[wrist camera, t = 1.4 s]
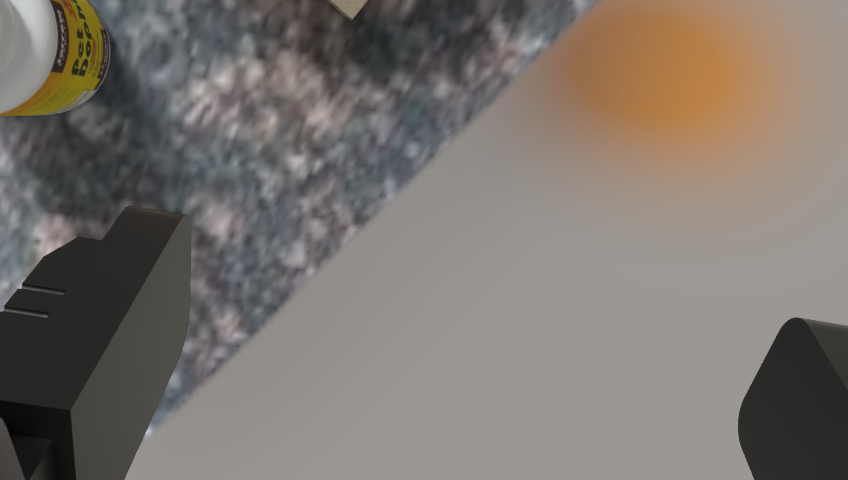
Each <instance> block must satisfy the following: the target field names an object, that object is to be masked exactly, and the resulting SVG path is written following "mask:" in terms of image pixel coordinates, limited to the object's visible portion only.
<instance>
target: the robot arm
mask: <svg viewBox="0 0 848 480" xmlns="http://www.w3.org/2000/svg"><path fill="white" fill-rule="evenodd" d="M190 268H191V222H190V218H189V216H188V215H184V214H178V213H172V212H166V211H160V210H154V209H148V208H142V207H136V206H128V207H126V208H125V209H124V210H123V212H122V213H121V215H120V216H119V217H118V219H117V220H116V222H115V223H114V224H113V226H112V227H111V229H110V230H109V231H108V233H107V234H106V236H105V237H104V238H103V240H96V239H90V238H83V237H78V238H76V239H74V240H72V241H71V242H69V243H67V244H65V245H64V246H62V247H60V248H58V249H56V250H55V251H53V252H51V253H49V254H48V255H46V256H44V257H43V258H42V260H41V261H40V262H39V263H38V265H37V266H36V267H35V268H34V269H33V271H32V272H31V273H30V274H29V276H28V277H27V278H26V279H25V281H24V282H23V283H22V288H21V289H17V291H16V292H15V293H14V294H13V296H12V297H11V298H10V299H9V301H8V302H7V303H6V304H5V306H4V311H3V312H0V480H124V479H125V477H126V475H127V472H128V470H129V468H130V466H131V464H132V461H133V459H134V457H135V455H136V452H137V450H138V448H139V446H140V444H141V441H142V439H143V437H144V435H145V432H146V430H147V428H148V426H149V424H150V421H151V419H152V417H153V415H154V413H155V410H156V408H157V406H158V404H159V401H160V399H161V397H162V395H163V393H164V390H165V388H166V386H167V384H168V381H169V379H170V377H171V375H172V373H173V370H174V368H175V366H176V364H177V362H178V359H179V357H180V354H181V351H182V348H183V345H184V341H185V337H186V333H187V327H188V321H189V310H190ZM738 434H739V441H740V444H741V448H742V450H743V453H744V455H745V458H746V460H747V463H748V465H749V467H750V470H751V472H752V475H753V477H754V480H848V326H845V325H839V324H833V323H827V322H821V321H815V320H809V319H803V318H792V319H790V320H788V321H787V322H786V323H785V324H784V325H783V326H782V328H781V329H780V331H779V333H778V334H777V336H776V338H775V340H774V342H773V344H772V346H771V348H770V350H769V352H768V353H767V355H766V357H765V359H764V361H763V363H762V365H761V367H760V369H759V371H758V372H757V375H756V376H755V378H754V380H753V382H752V384H751V386H750V388H749V390H748V392H747V393H746V395H745V397H744V400H743V402H742V405H741V408H740V412H739V419H738Z"/></svg>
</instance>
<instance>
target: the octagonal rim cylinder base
mask: <svg viewBox="0 0 848 480" xmlns="http://www.w3.org/2000/svg"><path fill="white" fill-rule="evenodd" d="M326 1H327V2H329V3H330V4H331V5H332V6H333V7H334V8H336V9H337V10H338V11H339V12H340V13H341V14H342V15H344V16H345V17H346V18H347V19H348V20H349V21H352V20H353V19H354V18H355V17H356V15H357V14H358V13H359V12H360V10H361V9H362V8H363V7H364V5H365V4H366V3H367V2H368V0H326Z"/></svg>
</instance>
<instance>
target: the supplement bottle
mask: <svg viewBox="0 0 848 480" xmlns="http://www.w3.org/2000/svg"><path fill="white" fill-rule="evenodd" d="M109 63H110V41H109V36H108V32H107V29H106V26H105V24H104V22H103V20H102V18H101V16H100V14H99V13H98V11H97V10H96V8H95V7H94V6H93V5H92V3H91V2H90V1H89V0H0V116H28V115H52V114H58V113H63V112H66V111H69V110H72V109H74V108H76V107H78V106H80V105H81V104H83V103H84V102H86V101H87V100H88V99H89V98H90V97H92V96H93V95H94V93H95V92H96V91H97V90H98V89H99V87H100V86H101V84H102V82H103V81H104V79H105V77H106V74H107V71H108V67H109Z"/></svg>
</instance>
